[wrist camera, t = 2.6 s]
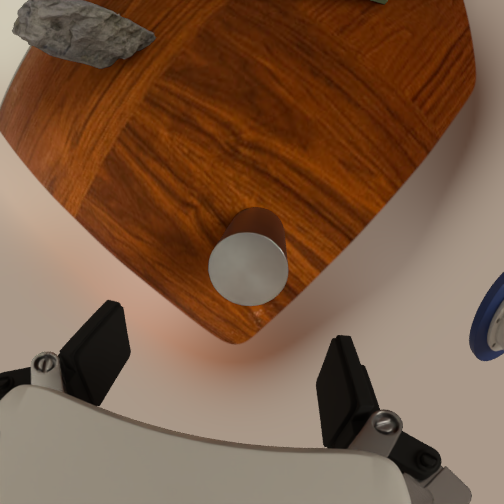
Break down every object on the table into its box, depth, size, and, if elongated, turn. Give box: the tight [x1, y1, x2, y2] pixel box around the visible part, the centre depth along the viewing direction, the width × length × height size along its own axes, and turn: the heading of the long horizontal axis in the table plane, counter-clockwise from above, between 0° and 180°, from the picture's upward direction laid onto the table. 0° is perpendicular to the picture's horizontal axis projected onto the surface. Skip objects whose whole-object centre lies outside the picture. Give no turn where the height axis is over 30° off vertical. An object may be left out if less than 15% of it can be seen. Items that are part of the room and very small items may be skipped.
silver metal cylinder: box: [208, 207, 288, 306], centre depth 23 cm, size 6×6×9 cm
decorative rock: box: [12, 0, 156, 69], centre depth 13 cm, size 16×7×15 cm, turn 47°
